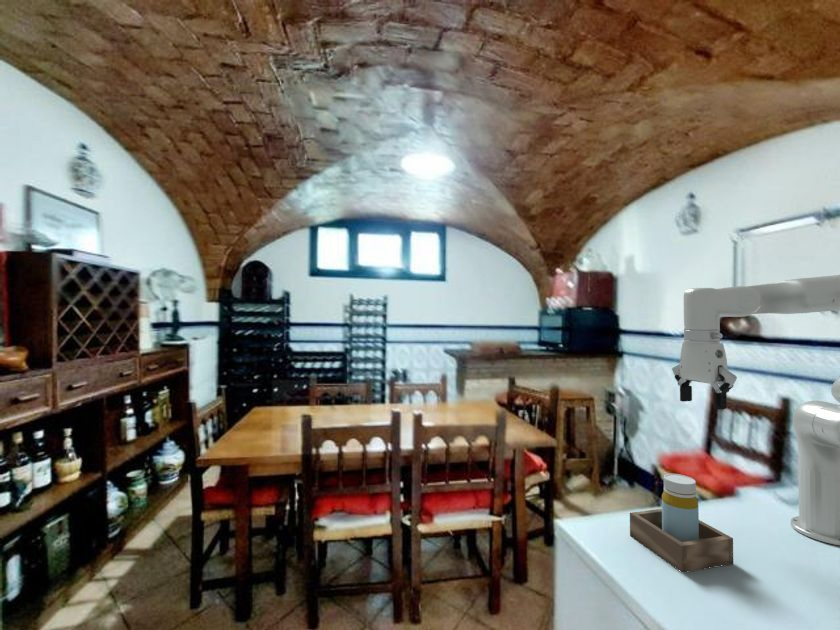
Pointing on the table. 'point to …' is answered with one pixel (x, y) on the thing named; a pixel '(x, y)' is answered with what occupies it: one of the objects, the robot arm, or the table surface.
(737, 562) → the table surface
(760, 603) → the table surface
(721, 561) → the brown box
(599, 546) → the table surface
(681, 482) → the bottle
